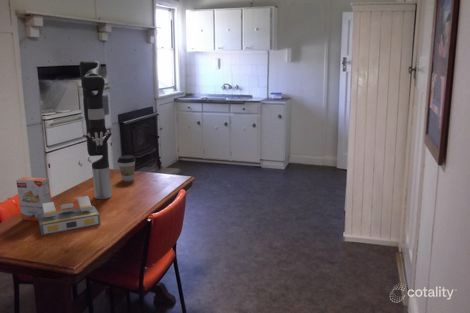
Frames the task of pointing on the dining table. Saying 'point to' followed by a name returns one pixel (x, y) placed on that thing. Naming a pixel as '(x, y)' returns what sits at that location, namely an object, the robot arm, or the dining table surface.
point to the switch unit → (68, 220)
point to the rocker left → (49, 209)
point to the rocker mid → (67, 206)
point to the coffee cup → (127, 167)
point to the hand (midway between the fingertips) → (99, 152)
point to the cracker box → (33, 196)
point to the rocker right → (84, 203)
